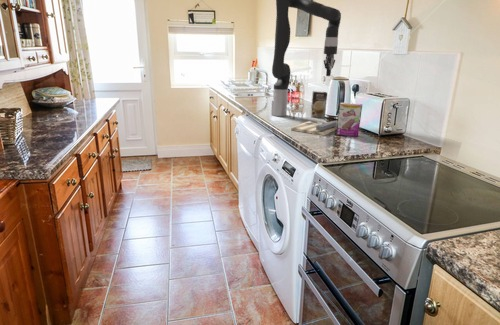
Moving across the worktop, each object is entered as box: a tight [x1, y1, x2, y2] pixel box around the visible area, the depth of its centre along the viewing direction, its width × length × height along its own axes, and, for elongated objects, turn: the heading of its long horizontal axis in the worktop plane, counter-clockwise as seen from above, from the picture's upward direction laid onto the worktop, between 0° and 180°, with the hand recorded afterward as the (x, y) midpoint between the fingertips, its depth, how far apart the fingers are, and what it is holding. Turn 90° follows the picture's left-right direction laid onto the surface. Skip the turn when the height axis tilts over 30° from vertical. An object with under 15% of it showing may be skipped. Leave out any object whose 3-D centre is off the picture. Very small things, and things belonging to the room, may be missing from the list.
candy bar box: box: [335, 102, 363, 138], centre depth 176 cm, size 11×5×16 cm, turn 71°
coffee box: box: [309, 90, 328, 119], centre depth 223 cm, size 9×6×16 cm
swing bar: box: [316, 120, 338, 131], centre depth 185 cm, size 19×4×2 cm, turn 140°
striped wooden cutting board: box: [290, 119, 337, 136], centre depth 191 cm, size 20×25×2 cm
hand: (328, 76), depth 207 cm, fingers closed
